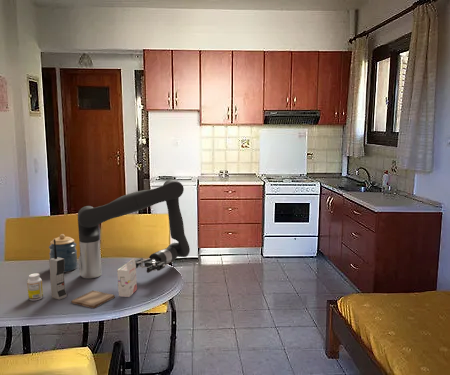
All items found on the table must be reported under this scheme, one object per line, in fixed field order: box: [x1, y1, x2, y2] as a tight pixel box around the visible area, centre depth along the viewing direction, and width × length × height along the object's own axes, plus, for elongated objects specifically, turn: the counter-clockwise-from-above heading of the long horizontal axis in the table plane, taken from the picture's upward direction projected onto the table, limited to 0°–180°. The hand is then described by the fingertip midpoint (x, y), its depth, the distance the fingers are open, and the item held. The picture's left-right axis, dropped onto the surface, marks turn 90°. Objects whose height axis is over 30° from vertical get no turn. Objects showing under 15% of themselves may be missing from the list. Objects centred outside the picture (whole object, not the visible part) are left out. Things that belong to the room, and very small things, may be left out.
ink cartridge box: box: [116, 257, 138, 298], centre depth 183 cm, size 9×5×15 cm, turn 168°
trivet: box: [71, 290, 116, 309], centre depth 177 cm, size 12×12×1 cm
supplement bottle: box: [26, 272, 44, 302], centre depth 178 cm, size 6×6×10 cm
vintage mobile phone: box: [48, 238, 68, 301], centre depth 178 cm, size 4×5×25 cm
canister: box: [48, 233, 79, 273], centre depth 215 cm, size 13×13×18 cm
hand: (139, 269), depth 190 cm, fingers open, 8 cm apart
